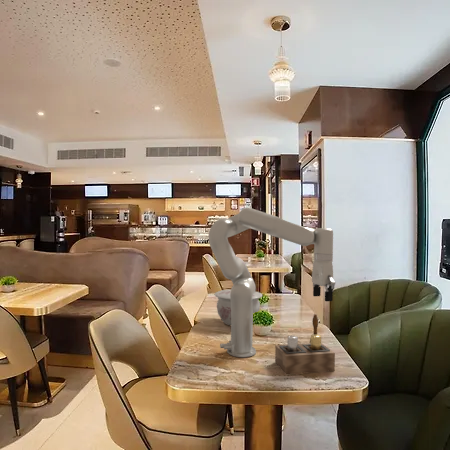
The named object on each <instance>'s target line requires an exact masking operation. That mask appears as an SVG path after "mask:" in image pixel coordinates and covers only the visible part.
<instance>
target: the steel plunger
mask: <svg viewBox="0 0 450 450" xmlns="http://www.w3.org/2000/svg"><path fill="white" fill-rule="evenodd" d="M298 344H299V338H298V336H297V335H293V334H292V335H288V336H287V344H286V345H287V351H288V352H298Z"/></svg>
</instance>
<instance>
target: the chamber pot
mask: <svg viewBox="0 0 450 450" xmlns="http://www.w3.org/2000/svg"><path fill="white" fill-rule="evenodd" d="M230 292H231V288H228V289H227V288H226V289H221V290H219V291H216V292H214V296H215V297H216V298H217V299H218V300H217V302H216V309H217V315H218V316H219V318H220V320H221V321H222V322H223V323H224V324H225V325H227V326H230V325H231V299H230ZM262 297H263V293H261V292H260V291H256V290H255V293H254V294H253V297H252V304H253V313H255V312H258V311H259V312H260V308H261V304H260V301H259V299H260V298H262Z"/></svg>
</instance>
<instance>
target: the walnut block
mask: <svg viewBox="0 0 450 450" xmlns="http://www.w3.org/2000/svg"><path fill="white" fill-rule="evenodd" d="M274 351H275V352H274V355H275V356H274V357H275V358H274V363H275V364H276V365H277V366H278V367H279V369H280V370H281V371H282V372H283V373H284V374H285V375H286V374H288V375H300V374H313V373H324V372H335V371H336V370H335V368H336V367H335V365H336V361H335V360H336V352H335V351H334V350H332V349H330V348H329V347H328V346H326V345H325V344H323V342H321V350H314V351H313V350H311V343H310V342H306V343H298V352H288V351H287V344H275V348H274Z"/></svg>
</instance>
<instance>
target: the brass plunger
mask: <svg viewBox="0 0 450 450" xmlns="http://www.w3.org/2000/svg"><path fill="white" fill-rule="evenodd" d="M310 338H311V350H313V351H314V350H321V343H322V335H320V334H318V333H317V334H310Z"/></svg>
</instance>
